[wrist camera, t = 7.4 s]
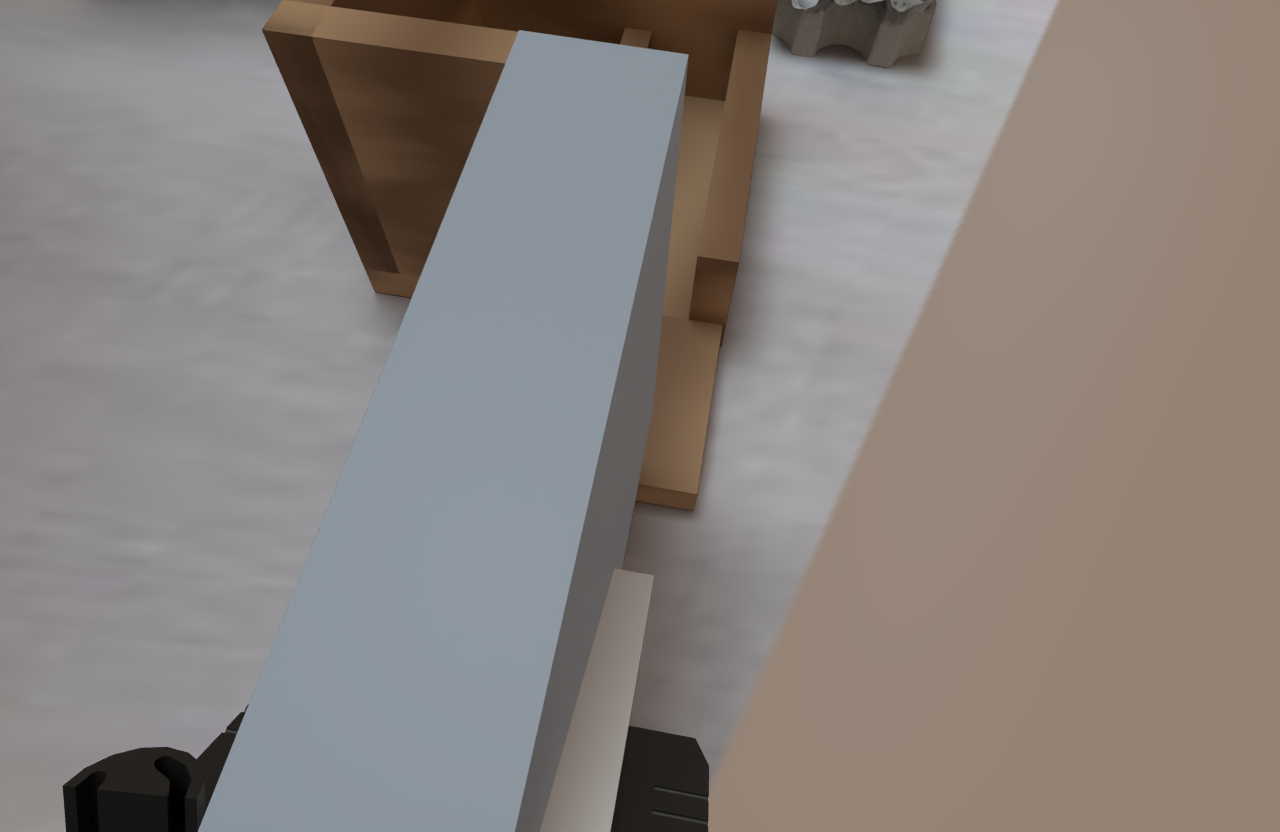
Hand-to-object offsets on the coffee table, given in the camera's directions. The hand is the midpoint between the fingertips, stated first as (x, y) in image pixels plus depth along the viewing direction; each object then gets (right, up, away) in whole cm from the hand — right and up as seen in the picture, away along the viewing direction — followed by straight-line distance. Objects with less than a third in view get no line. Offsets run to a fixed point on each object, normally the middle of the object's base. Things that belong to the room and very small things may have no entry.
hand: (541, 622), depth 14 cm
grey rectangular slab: (0, -1, +2) cm, 2 cm away
